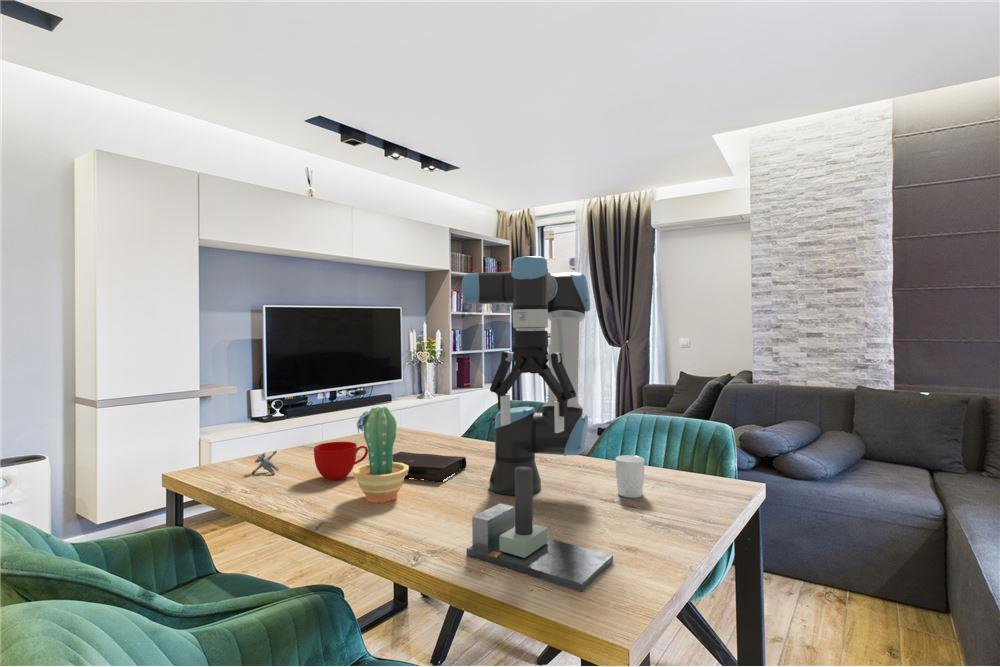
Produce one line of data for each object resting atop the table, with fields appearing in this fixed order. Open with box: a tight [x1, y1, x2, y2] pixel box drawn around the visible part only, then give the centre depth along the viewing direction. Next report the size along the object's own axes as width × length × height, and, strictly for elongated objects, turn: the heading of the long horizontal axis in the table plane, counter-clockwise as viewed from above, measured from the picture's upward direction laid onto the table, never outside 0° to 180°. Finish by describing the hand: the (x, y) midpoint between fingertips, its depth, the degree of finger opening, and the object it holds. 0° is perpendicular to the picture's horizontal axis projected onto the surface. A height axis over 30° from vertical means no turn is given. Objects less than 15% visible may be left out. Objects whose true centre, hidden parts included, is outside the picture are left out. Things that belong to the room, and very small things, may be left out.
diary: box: [393, 451, 467, 484], centre depth 170 cm, size 19×25×5 cm
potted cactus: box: [352, 406, 409, 504], centre depth 144 cm, size 15×15×25 cm
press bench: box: [465, 503, 614, 593], centre depth 105 cm, size 26×14×8 cm, turn 55°
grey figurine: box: [251, 450, 280, 476], centre depth 170 cm, size 10×6×9 cm
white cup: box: [615, 454, 645, 499], centre depth 146 cm, size 8×8×10 cm
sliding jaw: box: [499, 466, 549, 558], centre depth 107 cm, size 6×9×16 cm, turn 145°
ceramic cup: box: [313, 441, 369, 481], centre depth 165 cm, size 13×17×10 cm
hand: (531, 428), depth 112 cm, fingers open, 13 cm apart
